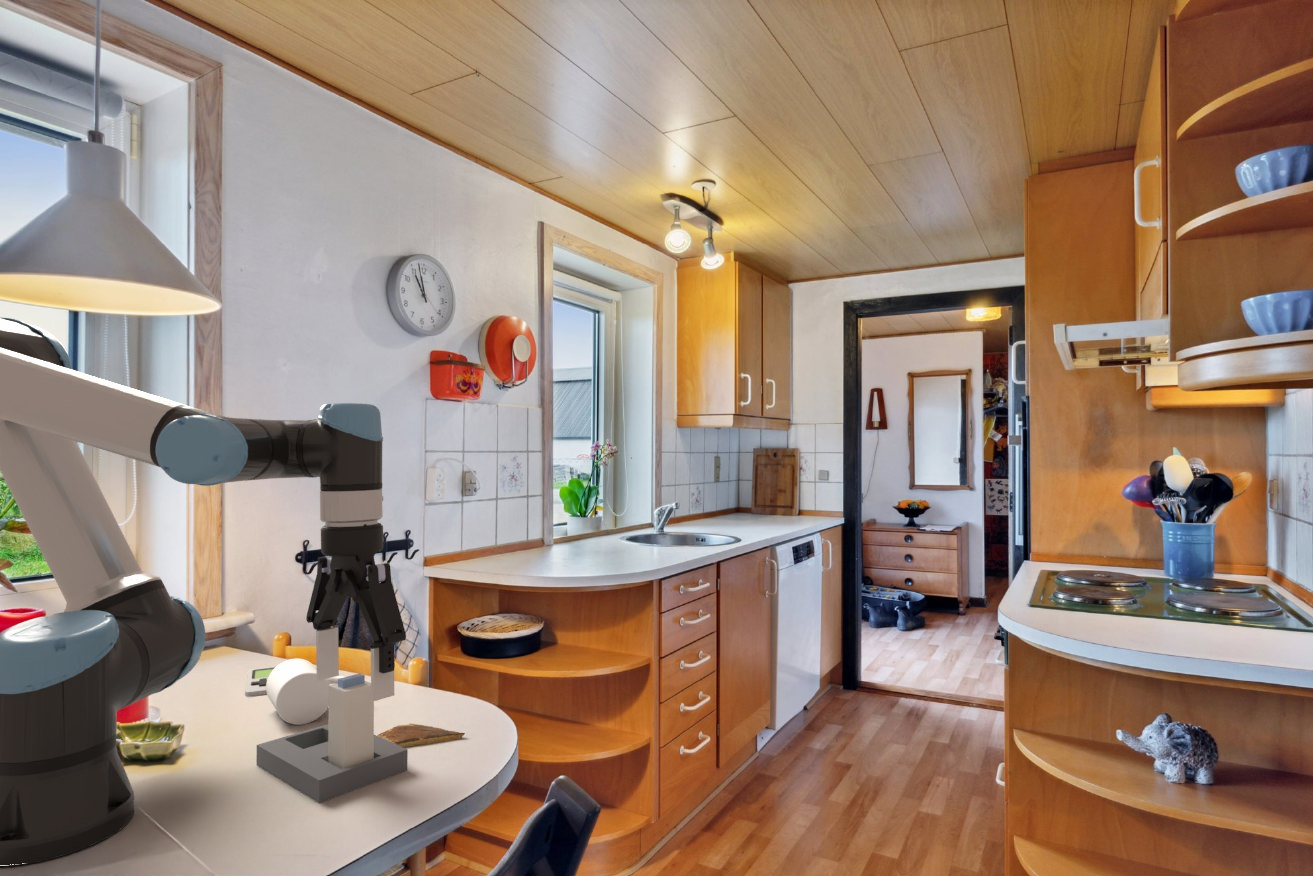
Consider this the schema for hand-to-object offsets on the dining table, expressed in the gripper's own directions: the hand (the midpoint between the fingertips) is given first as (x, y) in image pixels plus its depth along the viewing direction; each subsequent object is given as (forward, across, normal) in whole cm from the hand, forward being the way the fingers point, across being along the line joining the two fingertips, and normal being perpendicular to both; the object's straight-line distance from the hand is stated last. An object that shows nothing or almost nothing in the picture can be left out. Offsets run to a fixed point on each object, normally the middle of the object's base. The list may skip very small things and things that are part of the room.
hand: (354, 687), depth 99 cm
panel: (+12, +5, 0) cm, 13 cm away
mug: (+12, +29, -9) cm, 32 cm away
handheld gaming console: (+12, +50, -13) cm, 53 cm away
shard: (+13, +6, -14) cm, 20 cm away
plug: (+12, 0, 0) cm, 12 cm away
